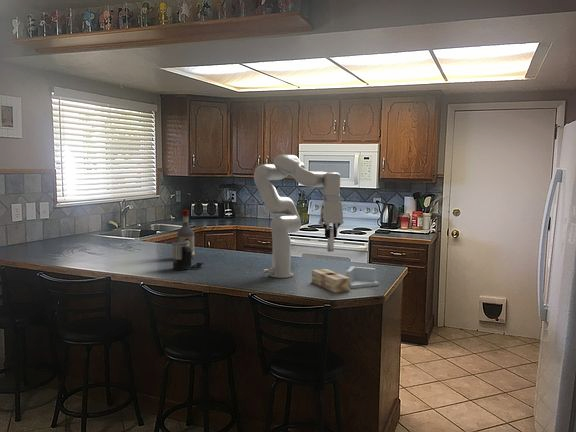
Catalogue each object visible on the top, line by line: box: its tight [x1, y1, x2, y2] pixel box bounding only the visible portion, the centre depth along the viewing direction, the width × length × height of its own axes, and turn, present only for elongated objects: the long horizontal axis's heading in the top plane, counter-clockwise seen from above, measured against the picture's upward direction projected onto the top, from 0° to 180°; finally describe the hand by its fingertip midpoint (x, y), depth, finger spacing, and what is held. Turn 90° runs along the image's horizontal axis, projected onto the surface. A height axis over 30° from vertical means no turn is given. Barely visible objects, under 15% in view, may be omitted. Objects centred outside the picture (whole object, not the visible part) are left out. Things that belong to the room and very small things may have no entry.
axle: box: [326, 227, 335, 253], centre depth 227 cm, size 3×3×11 cm
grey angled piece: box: [345, 265, 380, 289], centre depth 234 cm, size 17×13×8 cm
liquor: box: [177, 209, 195, 260], centre depth 293 cm, size 9×9×30 cm
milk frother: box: [171, 241, 204, 271], centre depth 266 cm, size 14×16×15 cm
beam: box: [311, 268, 351, 293], centre depth 229 cm, size 8×22×6 cm, turn 25°
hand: (330, 237), depth 227 cm, fingers closed on axle, 3 cm apart
